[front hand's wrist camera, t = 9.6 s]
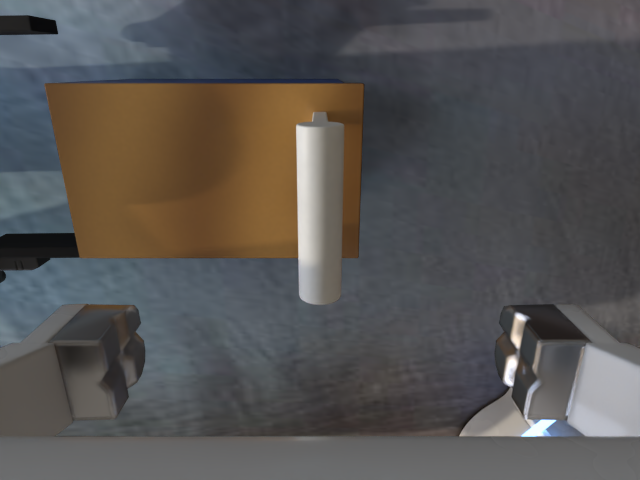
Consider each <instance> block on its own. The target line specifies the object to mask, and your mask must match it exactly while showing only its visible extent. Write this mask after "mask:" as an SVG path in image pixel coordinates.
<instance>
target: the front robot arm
mask: <svg viewBox="0 0 640 480" xmlns="http://www.w3.org/2000/svg"><path fill="white" fill-rule="evenodd" d="M140 324H141V321H140V316H139V311H138V309H137V308H136V307H135V306H134V305H97V304H90V305H89V304H68V305H62V306H61V307H60V308H59V309H57V310H56V311H55V312H54V313H53V314H52V315H51V316H50V317H49V318H47V319H46V320H45V321H44V322H43V323H42V324H41V325H40V326H38V327H37V328H36V329H35V330H34V331H33V332H32V333H31V334H30V335H28V336H27V337H26V338H25V339H24V340H23V341H22V342H21V343H11V344H9V345H6V346H4V347H1V348H0V480H640V348H639V347H636V346H634V345H631V344H629V343H619V342H618V341H617V340H616V339H615V338H614V337H613V336H612V335H610V334H609V333H608V332H607V331H606V330H605V329H604V328H603V327H602V326H600V325H599V324H598V323H597V322H596V321H595V320H594V319H593V318H592V317H590V316H589V315H588V314H587V313H586V312H585V311H584V310H583V309H582V308H580V307H579V306H578V305H575V304H556V305H554V304H543V305H508V306H504V307H503V309H502V312H501V315H500V321H499V324H500V325H501V327H502V329H503V330H504V333H503V334H502V335H501V336H500V337H499V338H498V339H497V340H496V346H495V363H496V368H497V371H498V374H499V376H500V378H501V380H502V382H503V383H504V384H506V385H508V386H509V387H511V388H510V389H509V390H508V391H507V393H506V394H505V395H504V396H502V397H501V398H500V399H498V400H497V401H495V402H493V403H492V404H490V405H488V406H487V407H485V408H484V409H482V410H481V411H480V412H478V413H477V414H476V415H475V416H474V417H473V418H472V419H471V420H470V421H469V422H468V423H467V424H466V426H465V427H464V428H463V430H462V432H461V433H460V435H459V436H56V435H57V434H58V433H60V432H61V431H62V430H64V429H65V428H66V427H68V426H69V425H70V424H72V423H73V420H109V419H116V417H117V416H118V414H119V412H120V411H121V409H122V407H123V406H124V404H125V402H126V401H127V399H128V397H129V396H128V390H127V389H128V388H129V387H131V386H132V385H134V384H136V383H137V382H138V380H139V378H140V376H141V374H142V372H143V367H144V363H145V346H144V340H143V339H142V338H141V337H140V336H139V335H138V334H137V333H136V330H137V329H138V327H139V325H140Z"/></svg>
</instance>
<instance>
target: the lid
mask: <svg viewBox="0 0 640 480" xmlns="http://www.w3.org/2000/svg"><path fill="white" fill-rule="evenodd" d="M44 85H45V90H46V95H47V100H48V105H49V110H50V115H51V120H52V124H53V129H54V134H55V139H56V144H57V149H58V154H59V159H60V163H61V168H62V173H63V178H64V183H65V188H66V193H67V198H68V202H69V207H70V212H71V217H72V222H73V227H74V232H75V237H76V242H77V246H78V251H79V256H80V258H298V260H299V296H300V298H301V299H302V300H303V301H305V302H307V303H310V304H315V305H326V304H331V303H333V302H336V301H337V300H338V299H339V298H340V296H341V270H342V258H358V257H359V227H360V197H361V167H362V137H363V108H364V84H363V83H45V84H44Z"/></svg>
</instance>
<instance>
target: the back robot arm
mask: <svg viewBox="0 0 640 480" xmlns="http://www.w3.org/2000/svg"><path fill="white" fill-rule="evenodd" d="M30 34H58V31H57V26H56V21H55V20H50V19H45V18H39V17H34V16H29V15H25V16H0V35H30ZM78 257H80V256H79V251H78V246H77V242H76V237H75V233H39V234H5V235H3V236H1V237H0V283H1V282H3V281H4V280H5V278H6V274H5V272H4V271H3V270H33V269H36V268H38V267H40V266H41V265H43V264H44V263H46V262H47V261H48V260H50V258H78Z"/></svg>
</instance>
